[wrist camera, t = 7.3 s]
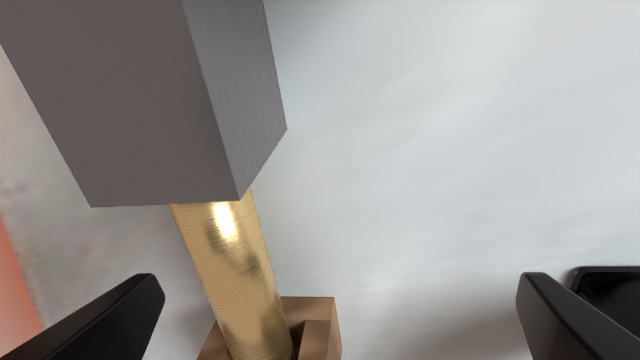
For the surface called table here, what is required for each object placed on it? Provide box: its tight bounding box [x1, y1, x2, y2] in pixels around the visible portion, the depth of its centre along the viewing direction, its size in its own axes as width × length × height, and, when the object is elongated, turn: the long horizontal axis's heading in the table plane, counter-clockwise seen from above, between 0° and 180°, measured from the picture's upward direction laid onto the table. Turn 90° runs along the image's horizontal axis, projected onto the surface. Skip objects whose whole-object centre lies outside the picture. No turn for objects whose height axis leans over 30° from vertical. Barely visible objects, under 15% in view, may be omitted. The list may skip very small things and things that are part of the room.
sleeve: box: [0, 0, 287, 208], centre depth 14 cm, size 7×11×8 cm, turn 8°
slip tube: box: [168, 187, 298, 360], centre depth 19 cm, size 4×20×4 cm, turn 7°
